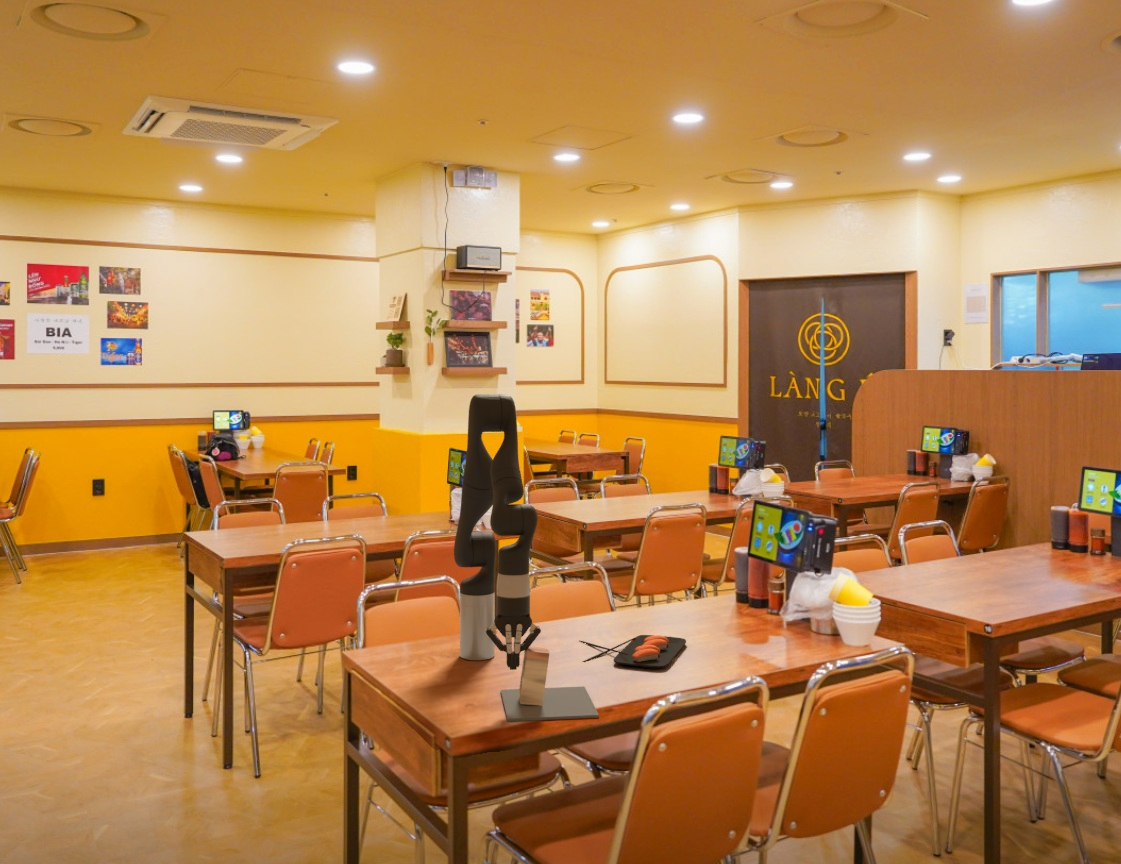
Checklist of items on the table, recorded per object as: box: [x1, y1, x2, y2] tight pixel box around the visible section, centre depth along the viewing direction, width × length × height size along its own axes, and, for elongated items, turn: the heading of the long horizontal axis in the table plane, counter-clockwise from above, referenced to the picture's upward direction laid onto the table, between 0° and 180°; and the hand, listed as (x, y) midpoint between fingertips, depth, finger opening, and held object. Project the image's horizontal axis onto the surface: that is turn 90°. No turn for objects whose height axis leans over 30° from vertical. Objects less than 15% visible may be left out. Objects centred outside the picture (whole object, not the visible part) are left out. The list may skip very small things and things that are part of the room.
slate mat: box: [500, 686, 600, 722], centre depth 222 cm, size 20×20×1 cm
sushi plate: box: [580, 634, 687, 669], centre depth 265 cm, size 29×30×4 cm
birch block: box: [518, 645, 550, 706], centre depth 221 cm, size 5×5×12 cm
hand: (512, 668), depth 220 cm, fingers closed
